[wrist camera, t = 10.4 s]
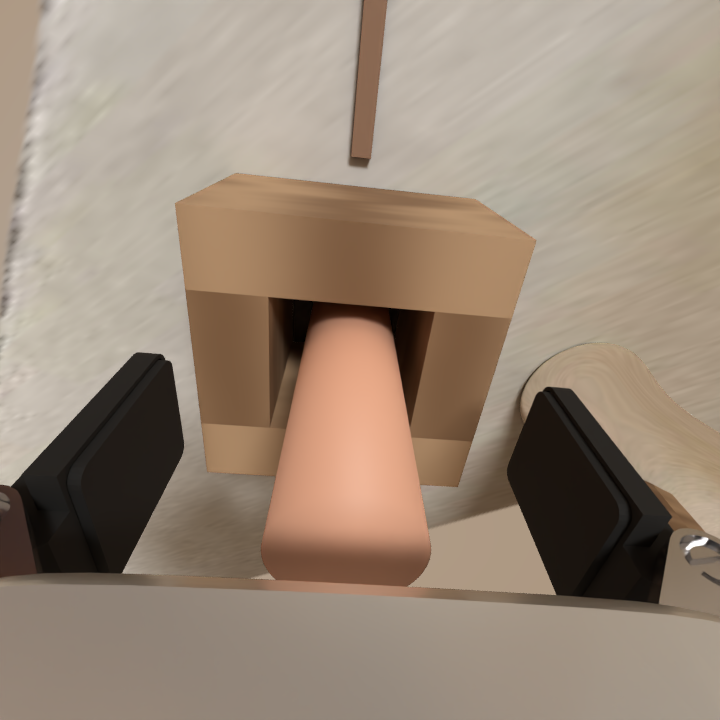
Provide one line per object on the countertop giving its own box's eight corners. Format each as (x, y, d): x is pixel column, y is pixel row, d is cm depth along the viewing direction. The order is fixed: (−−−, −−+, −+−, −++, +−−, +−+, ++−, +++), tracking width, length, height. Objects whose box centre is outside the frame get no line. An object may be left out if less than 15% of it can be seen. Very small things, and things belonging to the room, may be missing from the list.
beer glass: (569, 465, 23) (849, 914, 10) (480, 408, 21) (691, 886, 8) (683, 381, 20) (1273, 854, 7) (593, 304, 18) (1211, 785, 5)
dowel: (390, 266, 17) (446, 502, 7) (380, 331, 18) (415, 605, 8) (317, 259, 17) (258, 492, 6) (314, 326, 18) (262, 598, 8)
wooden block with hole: (475, 199, 16) (536, 240, 10) (430, 392, 20) (457, 487, 15) (235, 173, 15) (174, 203, 10) (245, 378, 20) (207, 471, 14)
